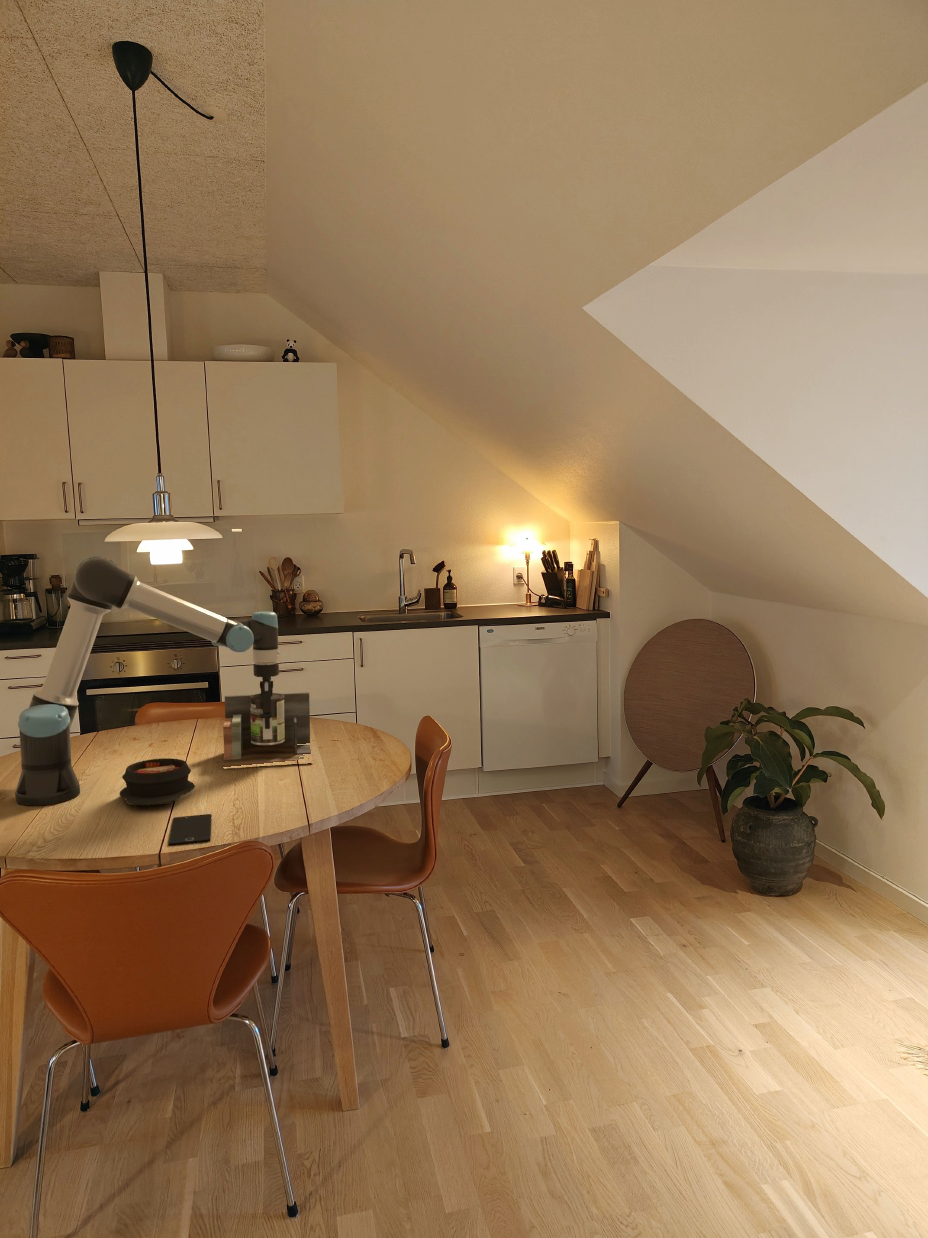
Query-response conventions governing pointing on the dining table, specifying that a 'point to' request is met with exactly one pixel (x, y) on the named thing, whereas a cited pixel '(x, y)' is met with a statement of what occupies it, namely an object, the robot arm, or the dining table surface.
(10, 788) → the dining table surface
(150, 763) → the casserole
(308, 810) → the dining table surface
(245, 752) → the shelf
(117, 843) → the dining table surface
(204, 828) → the cell phone
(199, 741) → the dining table surface
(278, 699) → the coffee can
